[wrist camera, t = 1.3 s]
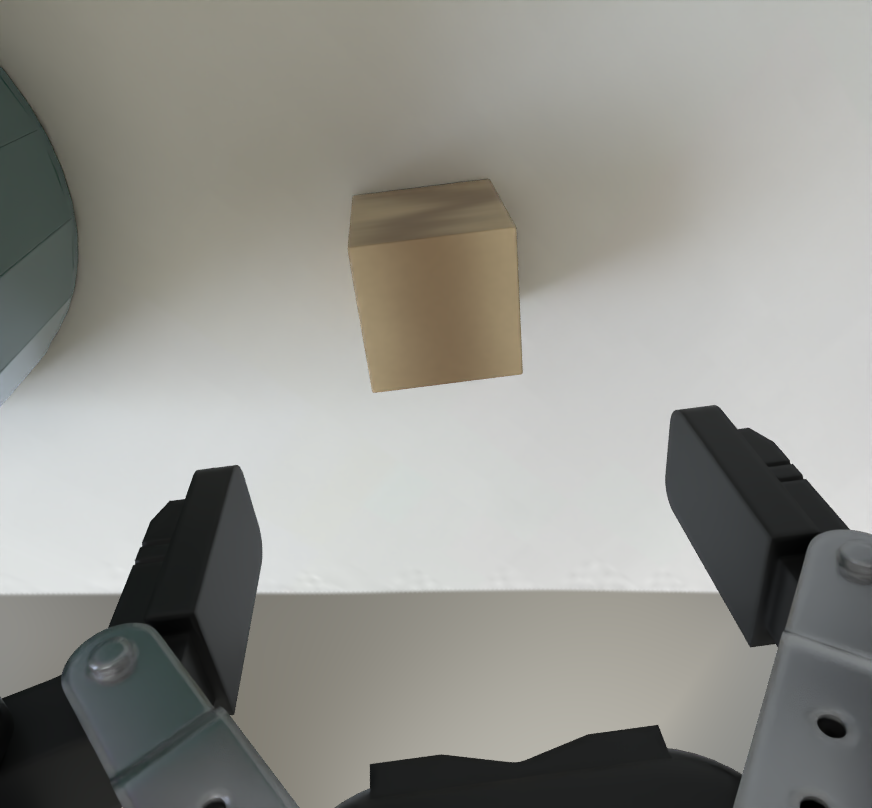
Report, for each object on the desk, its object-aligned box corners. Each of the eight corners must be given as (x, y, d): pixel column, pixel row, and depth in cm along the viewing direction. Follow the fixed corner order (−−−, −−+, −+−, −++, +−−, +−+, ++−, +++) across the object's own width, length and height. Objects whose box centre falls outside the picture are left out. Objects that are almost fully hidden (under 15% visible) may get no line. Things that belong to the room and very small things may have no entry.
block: (489, 178, 23) (516, 226, 18) (497, 305, 25) (523, 375, 21) (352, 195, 23) (346, 247, 18) (373, 321, 25) (372, 393, 21)
